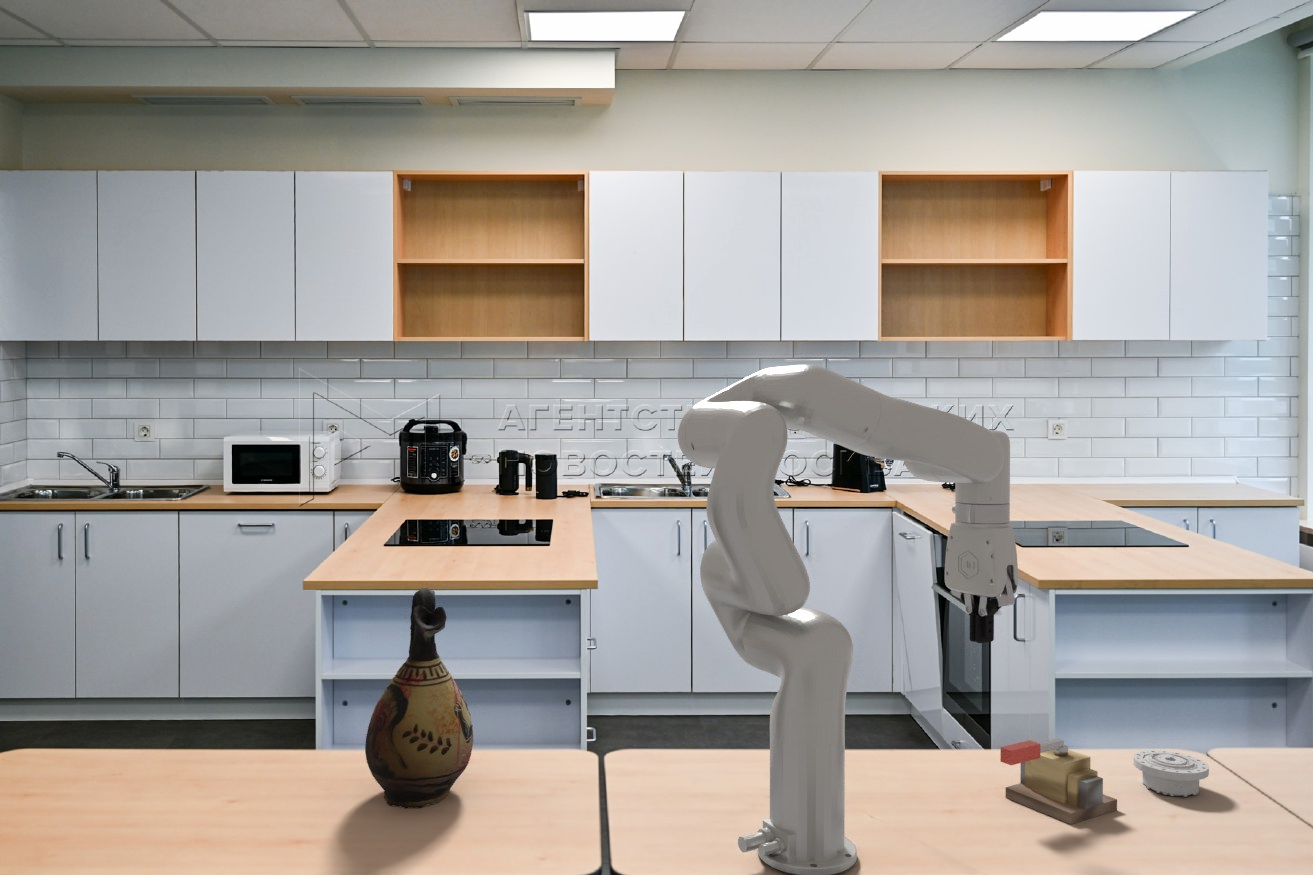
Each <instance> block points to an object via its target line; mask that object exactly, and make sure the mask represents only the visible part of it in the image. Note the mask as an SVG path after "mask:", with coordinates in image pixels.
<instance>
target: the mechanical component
mask: <svg viewBox="0 0 1313 875" xmlns="http://www.w3.org/2000/svg"><path fill="white" fill-rule="evenodd" d="M1133 766H1134V767H1135V768H1137V769H1138V770H1139V771H1141V772H1142V778H1141V779H1142V780H1141V781H1142V785H1145V786H1146V789H1147V790H1148V789H1149V790H1150V789H1151V790H1152V791H1154V792H1156V793H1158V794H1163V795H1168V796H1171V797H1174V796H1175V797H1176V796H1177V797H1179V796H1180V797H1186V798H1187V797H1188V796H1192V795H1193V796H1196V795H1197V794H1199V792H1200V780H1204V779H1206V778H1208V777H1209V774H1210V766H1209V765H1208V763H1206V762H1205V761H1203V760H1202V759H1200V758H1198V757H1195V756H1192V755H1189V754H1185V753H1181V752H1175V751H1171V750H1170V751H1169V750H1161V749H1160V750H1158V749H1157V750H1156V749H1154V750H1153V749H1149V750H1142V751H1137V752H1136V753H1134V754H1133Z"/></svg>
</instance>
